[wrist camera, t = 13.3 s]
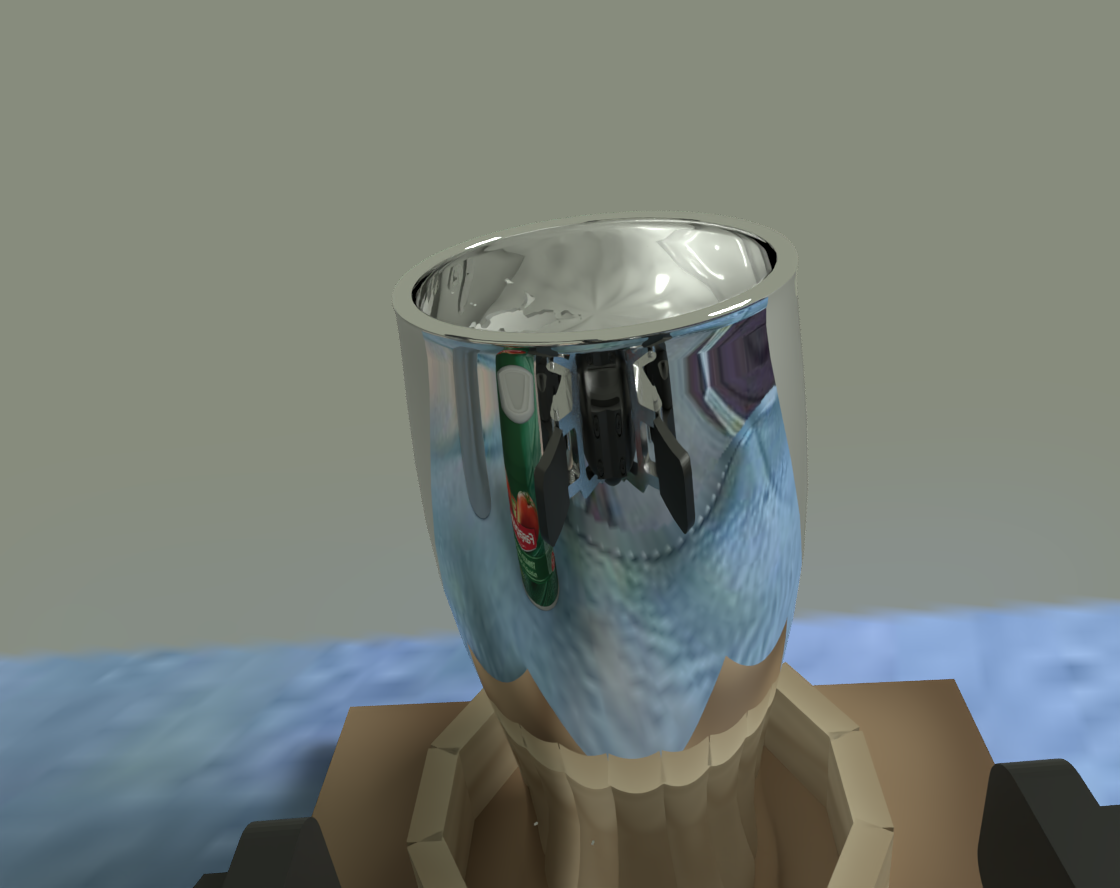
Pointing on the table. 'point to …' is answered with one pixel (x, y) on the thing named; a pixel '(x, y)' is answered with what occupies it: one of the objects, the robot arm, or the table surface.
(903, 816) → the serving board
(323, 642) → the table surface
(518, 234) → the beer glass
